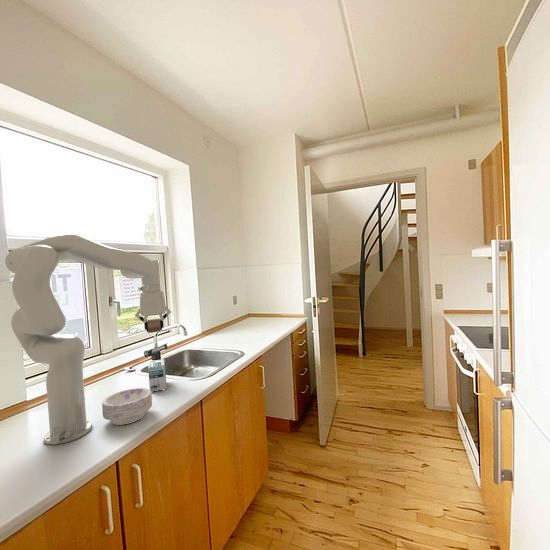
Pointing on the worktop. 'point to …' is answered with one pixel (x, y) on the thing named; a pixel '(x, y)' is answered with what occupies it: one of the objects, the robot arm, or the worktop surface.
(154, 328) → the walnut cube
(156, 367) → the light bulb box
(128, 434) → the worktop surface
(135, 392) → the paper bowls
